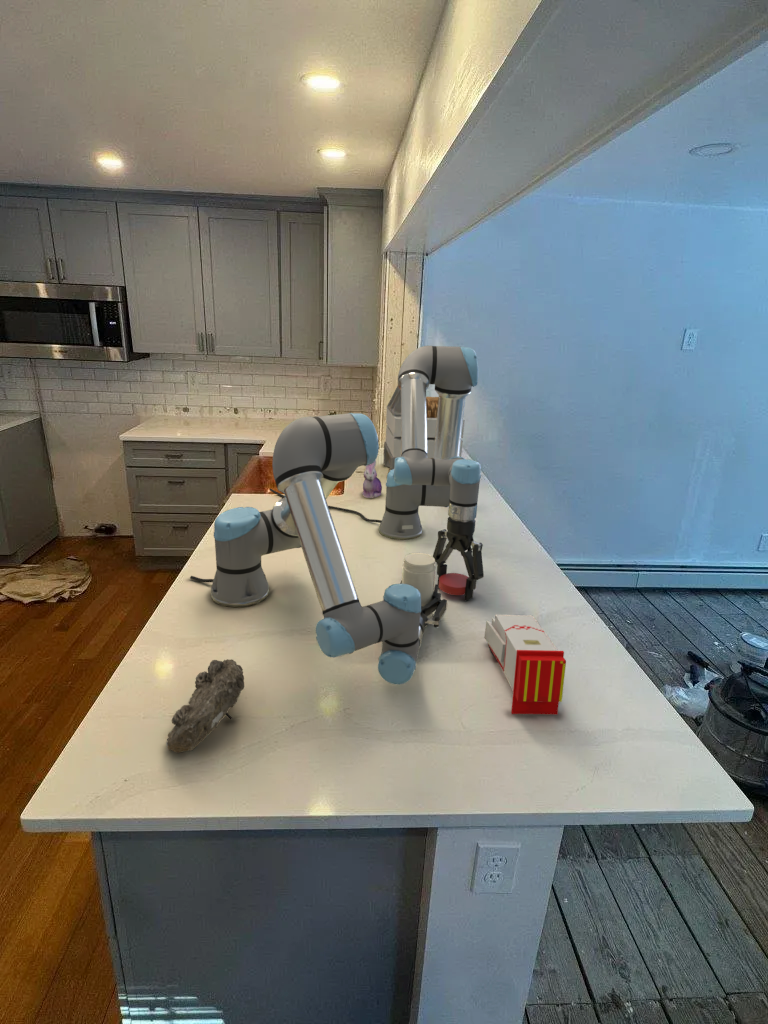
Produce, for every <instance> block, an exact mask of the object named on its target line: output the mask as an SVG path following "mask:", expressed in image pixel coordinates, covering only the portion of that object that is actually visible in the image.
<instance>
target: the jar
mask: <svg viewBox="0 0 768 1024" xmlns="http://www.w3.org/2000/svg"><path fill="white" fill-rule="evenodd" d="M435 564H436V562H435V559H434V558H433V555H431V554H429V553H425V552H411V553H408V554H406V555H405V556H404V558H403V563H402V569H401V570H402V571H401V580H402V583H401V582H400V583H401V584H408V585H411V586H413V587H414V588H416V589H418V590H419V592H420V594H421V606H425V605H426V604H427V603H429V602H430V601H431V600H432V599H433V593H434V588H435V581H436V580H435V579H436V565H435ZM432 614H433V613H431V614H430V615H429V616H427V617H428V618H430V617H432Z"/></svg>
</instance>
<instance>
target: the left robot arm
mask: <svg viewBox="0 0 768 1024" xmlns="http://www.w3.org/2000/svg"><path fill="white" fill-rule="evenodd" d="M379 447H380V446H379V436H378V432H377V430H376V427H375V425H374V423H373V421H372V420H371V418H370V417H369V416H368V415H366V414H364V413H360V412H358V413H357V412H355V413H353V412H348V413H340V414H328V415H319V416H302V417H299V418H296V419H295V420H293V421H291V422H290V423H288V424H287V425H286V426H285V427H284V428H283V429H282V431H281V432H280V434H279V436H278V437H277V440H276V442H275V444H274V449H273V454H272V465H271V466H272V474H273V479H274V483H275V485H276V489H277V491H278V492H279V493H281V494H283V495H284V496H285V498H283V497H281V498H280V499H278V500H277V501H276V503H275V504H274V505H273V507H272V509H268V510H262V511H259V510H258V508H256V507H252V506H245V507H244V506H238V507H233V508H229V509H227V510H225V511H223V512H222V513H220V514H219V515H218V516H217V517H216V518H215V519H214V522H213V524H214V525H213V526H214V527H213V529H214V531H213V538H214V547H215V548H214V550H215V561H216V562H215V564H216V570H215V573H214V577H213V578H200V577H197V576H194V575H190V577H189V579H190V580H192V581H196V582H198V583H212V584H211V587H210V598H211V599H212V601H213V602H214V603H216V604H217V605H220V606H223V607H228V608H244V607H249V606H254V605H256V604H259V603H261V602H262V601H264V600H265V599H267V597H269V594H270V585H269V582H268V579H267V577H266V573H265V572H264V569H263V566H262V556H265V555H270V554H274V553H280V552H284V551H288V550H292V549H293V550H294V549H301V550H302V553H303V556H304V559H305V563H306V565H307V569H308V572H309V574H310V578H311V582H312V584H313V588H314V591H315V593H316V597H317V600H318V603H319V606H320V609H321V613H322V616H323V618H322V619H320V620H318V621H317V623H316V625H315V635H316V636H315V639H316V642H317V645H318V647H319V649H320V651H321V653H323V655H325V656H326V657H328V658H333V659H334V658H337V657H342V656H344V655H351V654H353V653H354V652H357V651H360V650H361V649H364V648H367V647H370V646H372V645H375V644H379V643H381V651H380V652H381V653H380V655H379V656H378V664H377V671H378V674H379V676H380V677H381V678H382V679H383V680H384V681H385V682H387V683H389V684H392V685H397V686H398V685H404V684H407V682H410V680H411V679H412V677H413V676H414V673H415V670H417V661H418V657H419V652H420V648H421V644H422V640H423V637H424V632H425V629H426V627H427V626H428V625H433V627H434V628H439V627H440V621H441V619H442V617H443V616H444V615H445V613H446V610H447V607H448V606H447V605H448V600H447V599H445V598H443V599H442V593H441V592H439V588H438V583H437V584H436V583H434V593H433V599H432V600H431V601H430V602H429V603H427V604H426V605H425V606H421V594H420V592H419V590H418V589H416V588H414V587H413V586H411V585H408V584H401V583H402V579H401V580H400V583H394V584H390V585H389V586H388V587H387V588H386V589H384V593H383V594H384V595H383V596H382V600H381V601H377V602H375V603H374V602H373V603H371V604H367V605H365V606H362V604H361V602H360V599H359V596H358V593H357V590H356V587H355V584H354V581H353V577H352V575H351V572H350V569H349V568H350V567H349V565H348V563H347V562H348V561H347V559H346V556H345V553H344V551H343V548H342V545H341V542H340V541H341V540H340V538H339V535H338V532H337V529H336V526H335V523H334V519H333V517H332V513H331V510H330V508H329V507H328V506H329V505H328V502H327V499H328V497H330V495H331V493H332V492H333V491H334V489H335V488H336V487H337V485H338V483H340V482H344V481H347V480H348V479H350V478H351V477H352V475H353V474H354V473H355V471H356V470H357V469H358V468H359V467H361V466H362V467H363V466H364V467H366V466H368V465H369V464H370V465H371V464H372V463H374V462H375V460H376V461H377V458H378V456H379V450H380V448H379ZM431 613H432V617H430V618H428V617H427V616H429V615H430V614H431Z"/></svg>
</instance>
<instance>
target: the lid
mask: <svg viewBox="0 0 768 1024" xmlns="http://www.w3.org/2000/svg"><path fill="white" fill-rule="evenodd" d="M467 578H469V576H468V575H465V574H462V573H457V572H447V573H446V574H443V575H442V576H440V578H439V588H438V589H439V591H441V592H443V593H445V594H448V595H451V596H465V588H466V579H467Z"/></svg>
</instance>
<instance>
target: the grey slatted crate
mask: <svg viewBox="0 0 768 1024" xmlns="http://www.w3.org/2000/svg"><path fill="white" fill-rule="evenodd" d="M438 399H439V396H426V410H427V457H428V458H430V459H433V455H434V444H435V433H436V422H437V410H438ZM385 414H386V415H385V423H386V428H385V438H384V442H383V466H384V467H388V468H389V472H390V471H391V470H392V469H394V462H395V458H397V457H401V390H400V389H399V387H398V385H397V386H396V388H395V390H394V392H393V394H392V395H391V398H390V400H389V402H388V404H387V405H386V413H385ZM464 429H465V419H464V418H463V425H462V433H461V442H460V451H459V457H462V453H463V442H464V441H463V440H462V439H463V438H464V431H465V430H464Z"/></svg>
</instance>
